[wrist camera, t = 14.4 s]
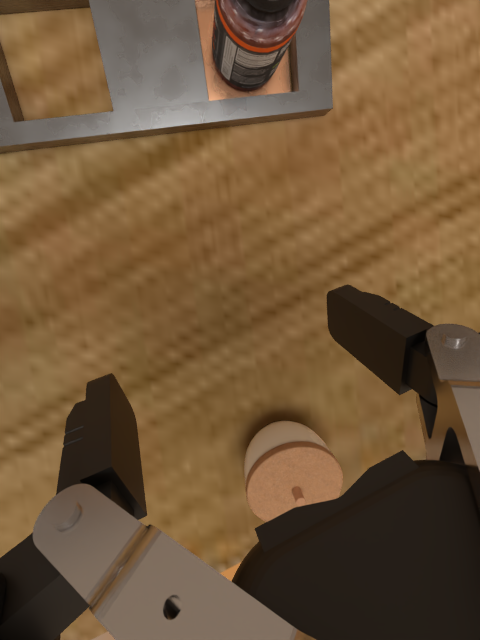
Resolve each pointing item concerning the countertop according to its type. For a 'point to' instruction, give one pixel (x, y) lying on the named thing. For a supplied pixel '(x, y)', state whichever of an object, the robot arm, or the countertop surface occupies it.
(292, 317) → the countertop surface
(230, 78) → the supplement bottle
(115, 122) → the plate with square holes
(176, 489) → the countertop surface
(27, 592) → the robot arm
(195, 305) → the countertop surface
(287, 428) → the lidded jar
